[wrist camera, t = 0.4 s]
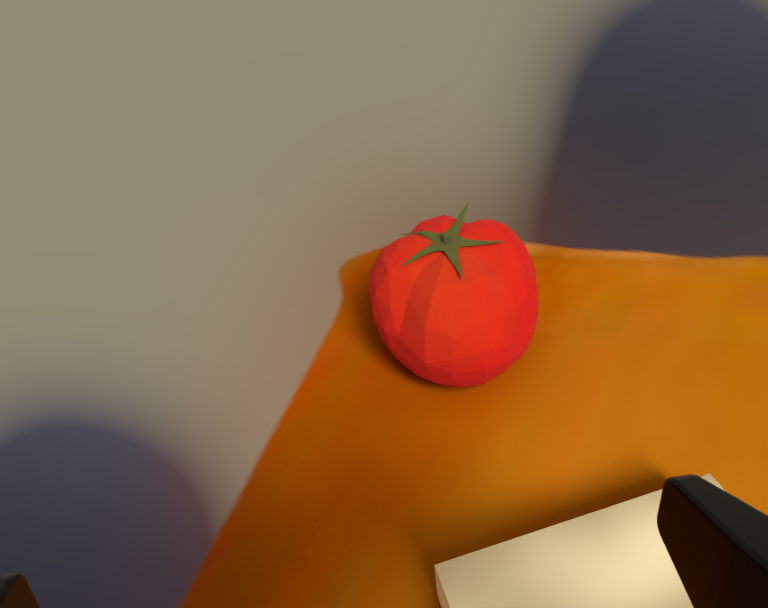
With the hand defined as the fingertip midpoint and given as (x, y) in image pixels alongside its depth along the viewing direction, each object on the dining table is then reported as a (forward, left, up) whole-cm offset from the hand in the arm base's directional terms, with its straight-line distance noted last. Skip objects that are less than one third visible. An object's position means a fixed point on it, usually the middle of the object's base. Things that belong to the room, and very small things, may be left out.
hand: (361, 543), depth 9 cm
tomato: (+20, -9, -17) cm, 28 cm away
